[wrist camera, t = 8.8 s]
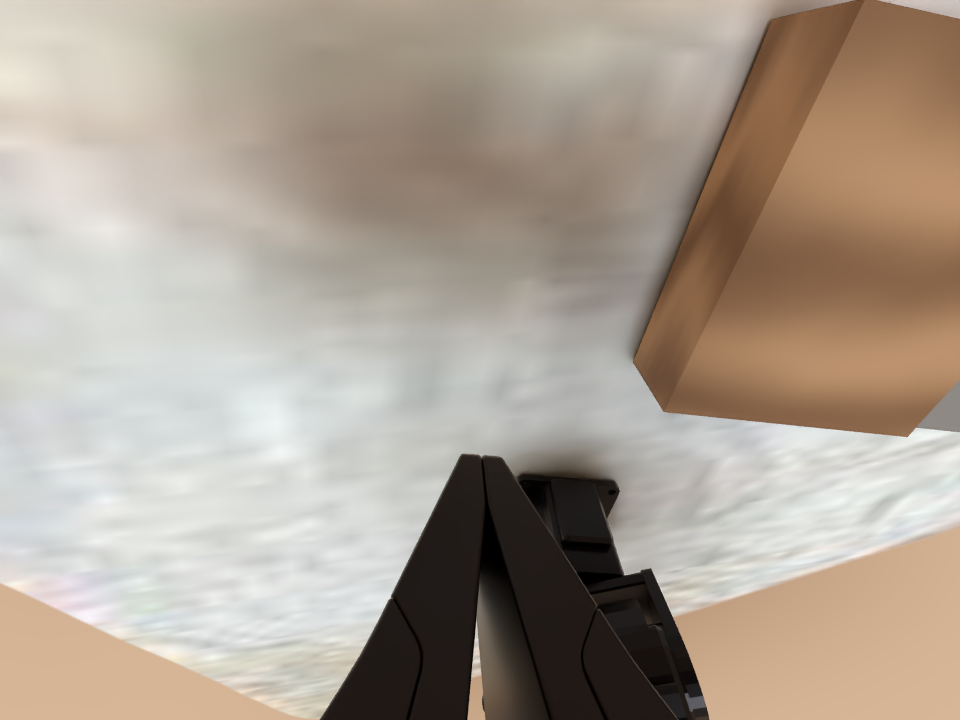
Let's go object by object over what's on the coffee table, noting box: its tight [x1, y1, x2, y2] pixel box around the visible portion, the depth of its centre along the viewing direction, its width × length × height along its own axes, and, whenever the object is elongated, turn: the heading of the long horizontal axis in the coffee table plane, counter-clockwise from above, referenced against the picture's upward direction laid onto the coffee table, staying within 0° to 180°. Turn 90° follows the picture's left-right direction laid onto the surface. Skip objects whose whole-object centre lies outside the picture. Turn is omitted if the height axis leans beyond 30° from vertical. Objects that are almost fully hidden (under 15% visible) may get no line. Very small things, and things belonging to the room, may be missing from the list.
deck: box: [633, 0, 960, 437], centre depth 17 cm, size 14×12×4 cm
